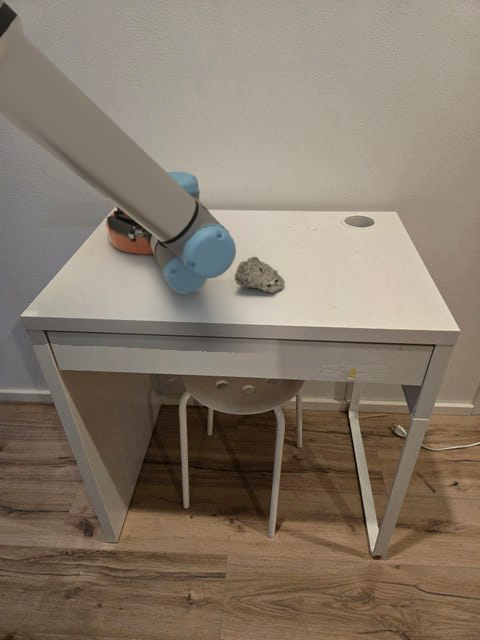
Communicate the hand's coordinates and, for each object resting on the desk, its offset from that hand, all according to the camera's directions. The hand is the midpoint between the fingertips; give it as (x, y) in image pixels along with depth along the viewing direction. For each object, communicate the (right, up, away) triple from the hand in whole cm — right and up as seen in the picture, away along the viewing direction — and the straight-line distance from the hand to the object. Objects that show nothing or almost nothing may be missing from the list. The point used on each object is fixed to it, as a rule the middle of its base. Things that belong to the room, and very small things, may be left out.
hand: (147, 203), depth 102 cm
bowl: (+1, -7, +1) cm, 8 cm away
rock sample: (+26, -21, -17) cm, 37 cm away
